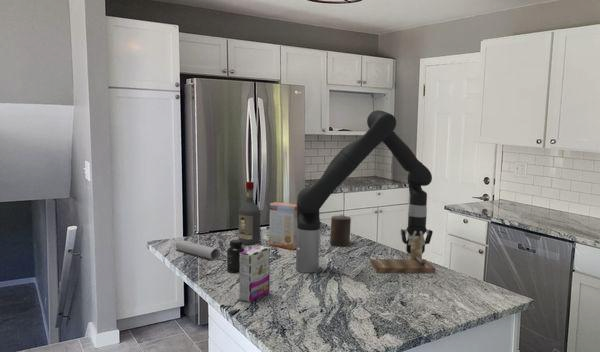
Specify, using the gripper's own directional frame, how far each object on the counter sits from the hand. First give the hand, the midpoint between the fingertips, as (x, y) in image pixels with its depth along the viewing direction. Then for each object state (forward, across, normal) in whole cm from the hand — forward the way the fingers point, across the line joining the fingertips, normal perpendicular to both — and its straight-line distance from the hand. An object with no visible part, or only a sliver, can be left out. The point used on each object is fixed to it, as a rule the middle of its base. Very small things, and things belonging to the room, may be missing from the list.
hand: (415, 252), depth 202 cm
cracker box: (+5, -56, +25) cm, 62 cm away
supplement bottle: (+5, -77, -11) cm, 78 cm away
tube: (+5, -96, +12) cm, 97 cm away
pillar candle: (+5, -28, +30) cm, 41 cm away
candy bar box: (+5, -69, -39) cm, 79 cm away
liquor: (+5, -73, +32) cm, 80 cm away
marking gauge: (+4, 0, -5) cm, 6 cm away
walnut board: (+4, -8, -8) cm, 12 cm away
